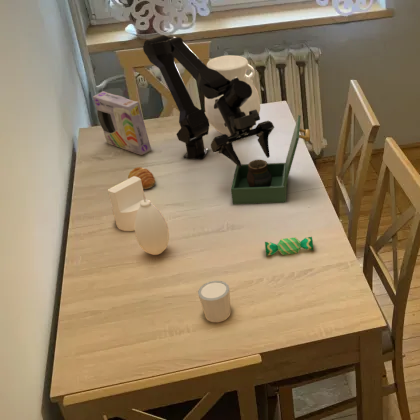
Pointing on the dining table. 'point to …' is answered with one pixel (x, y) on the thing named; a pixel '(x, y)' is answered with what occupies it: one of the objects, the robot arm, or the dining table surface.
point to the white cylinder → (215, 300)
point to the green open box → (259, 194)
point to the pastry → (143, 177)
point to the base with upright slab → (126, 202)
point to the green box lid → (294, 147)
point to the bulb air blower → (151, 228)
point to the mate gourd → (259, 174)
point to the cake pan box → (122, 122)
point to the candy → (289, 246)
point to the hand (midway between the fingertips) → (255, 162)
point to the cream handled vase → (230, 70)
